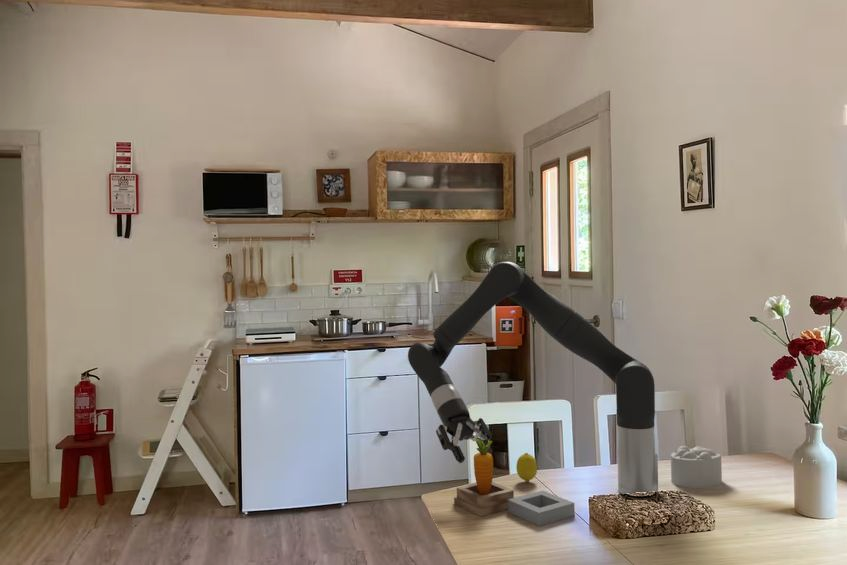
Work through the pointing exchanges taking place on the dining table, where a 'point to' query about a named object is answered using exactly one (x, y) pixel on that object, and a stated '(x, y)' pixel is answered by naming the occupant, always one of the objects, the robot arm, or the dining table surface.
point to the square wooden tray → (483, 499)
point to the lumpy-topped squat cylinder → (695, 467)
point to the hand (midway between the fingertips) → (476, 458)
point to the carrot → (483, 468)
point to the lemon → (526, 467)
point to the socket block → (549, 511)
